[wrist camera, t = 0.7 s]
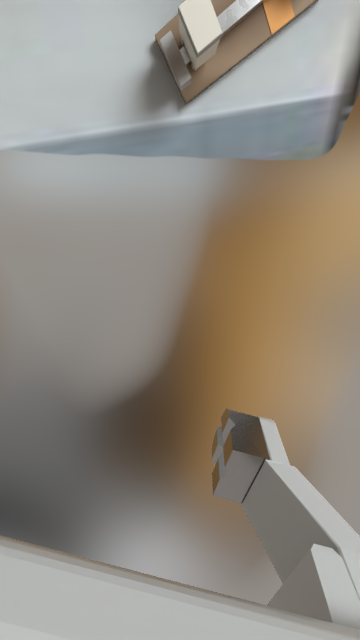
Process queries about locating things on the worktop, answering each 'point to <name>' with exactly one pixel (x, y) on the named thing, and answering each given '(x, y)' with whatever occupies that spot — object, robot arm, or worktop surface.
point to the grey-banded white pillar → (199, 30)
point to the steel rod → (230, 19)
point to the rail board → (226, 43)
